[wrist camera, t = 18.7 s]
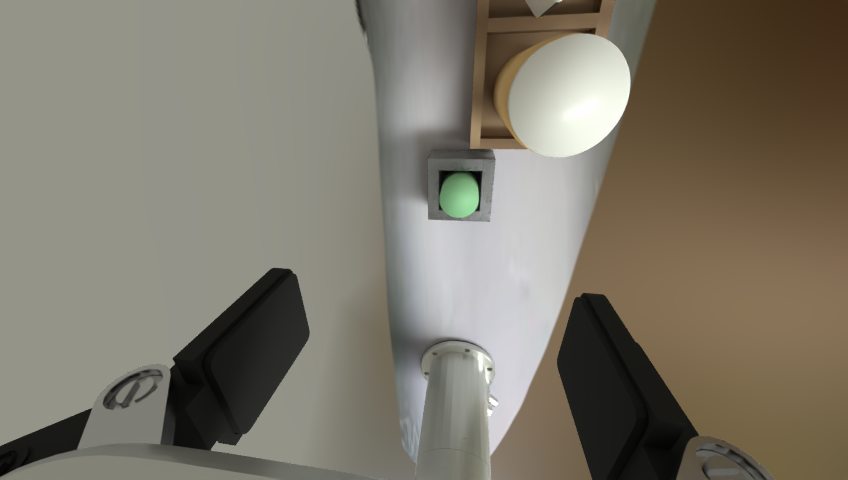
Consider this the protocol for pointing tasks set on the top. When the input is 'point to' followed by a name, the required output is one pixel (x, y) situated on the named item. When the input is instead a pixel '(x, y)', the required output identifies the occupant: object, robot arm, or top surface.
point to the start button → (459, 194)
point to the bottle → (563, 93)
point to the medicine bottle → (541, 6)
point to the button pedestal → (460, 162)
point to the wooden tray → (507, 36)
